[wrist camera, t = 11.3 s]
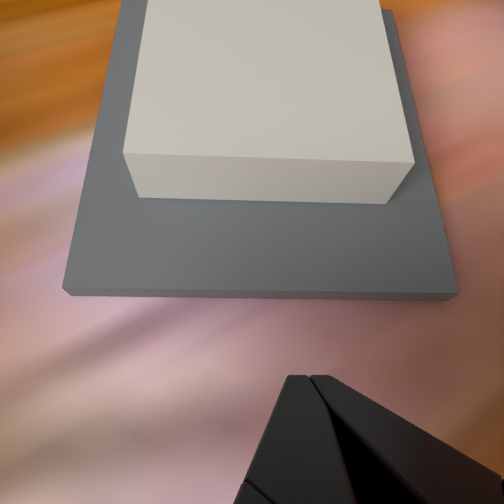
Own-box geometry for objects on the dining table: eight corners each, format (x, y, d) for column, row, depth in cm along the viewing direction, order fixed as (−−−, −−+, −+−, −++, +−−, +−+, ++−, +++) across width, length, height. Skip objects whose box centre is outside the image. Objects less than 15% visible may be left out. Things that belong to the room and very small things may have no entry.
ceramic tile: (414, 162, 15) (372, -28, 20) (122, 153, 14) (154, -42, 19) (385, 204, 18) (354, 28, 23) (139, 198, 17) (163, 18, 22)
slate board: (447, 300, 17) (459, 293, 16) (71, 295, 16) (62, 287, 15) (385, 25, 25) (391, 10, 24) (127, 12, 24) (123, -5, 23)
